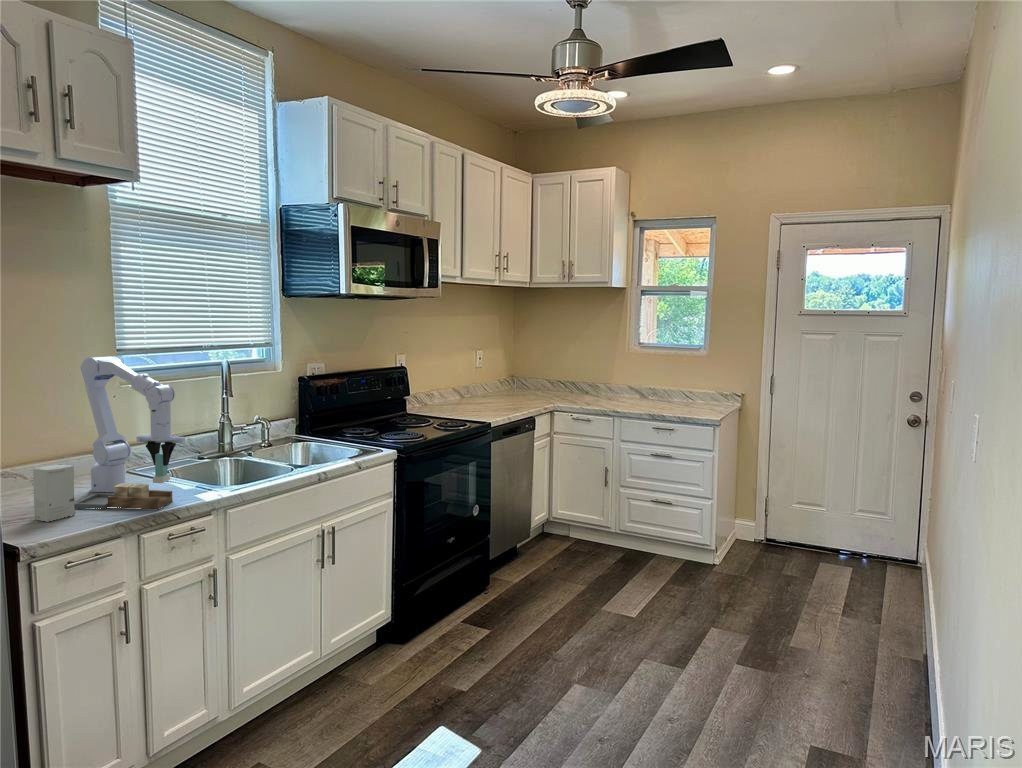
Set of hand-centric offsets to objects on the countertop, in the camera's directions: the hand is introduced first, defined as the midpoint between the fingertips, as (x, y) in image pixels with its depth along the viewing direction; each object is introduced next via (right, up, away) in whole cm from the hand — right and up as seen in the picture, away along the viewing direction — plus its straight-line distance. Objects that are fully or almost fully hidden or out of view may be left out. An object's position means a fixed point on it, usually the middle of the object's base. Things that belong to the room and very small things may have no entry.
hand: (161, 465), depth 220 cm
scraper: (0, -5, +1) cm, 5 cm away
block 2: (-2, -9, -9) cm, 13 cm away
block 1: (-7, -9, -9) cm, 14 cm away
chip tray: (-14, -11, -9) cm, 20 cm away
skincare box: (-18, -12, -24) cm, 32 cm away
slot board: (-2, -11, -8) cm, 14 cm away
